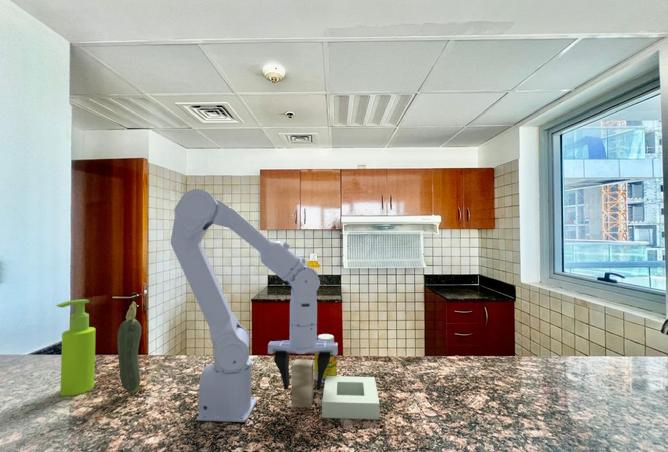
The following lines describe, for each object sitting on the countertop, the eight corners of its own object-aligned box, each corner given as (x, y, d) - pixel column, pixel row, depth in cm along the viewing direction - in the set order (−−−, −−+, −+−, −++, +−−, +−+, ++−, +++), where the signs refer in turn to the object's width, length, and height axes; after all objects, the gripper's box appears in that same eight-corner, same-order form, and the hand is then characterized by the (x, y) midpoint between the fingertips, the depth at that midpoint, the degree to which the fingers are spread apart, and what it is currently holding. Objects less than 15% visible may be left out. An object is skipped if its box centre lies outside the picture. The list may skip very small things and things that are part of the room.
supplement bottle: (324, 386, 72) (324, 341, 73) (309, 378, 76) (309, 336, 77) (341, 378, 76) (341, 336, 77) (326, 371, 80) (326, 331, 81)
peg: (291, 406, 64) (291, 367, 64) (294, 396, 68) (295, 359, 68) (311, 407, 64) (311, 367, 64) (313, 397, 68) (313, 359, 68)
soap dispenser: (49, 394, 68) (51, 301, 69) (86, 381, 74) (88, 296, 75) (62, 400, 66) (64, 304, 66) (99, 386, 72) (101, 298, 72)
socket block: (321, 417, 60) (322, 401, 60) (325, 389, 71) (325, 375, 71) (379, 419, 60) (379, 403, 60) (374, 390, 71) (374, 377, 71)
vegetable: (128, 400, 66) (130, 305, 66) (110, 398, 67) (112, 304, 67) (144, 390, 70) (146, 300, 71) (128, 388, 71) (130, 299, 72)
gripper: (264, 327, 63) (263, 396, 62) (336, 328, 62) (336, 398, 62) (272, 318, 70) (272, 379, 69) (338, 319, 69) (337, 381, 69)
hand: (302, 387), depth 66 cm, fingers open, 6 cm apart
